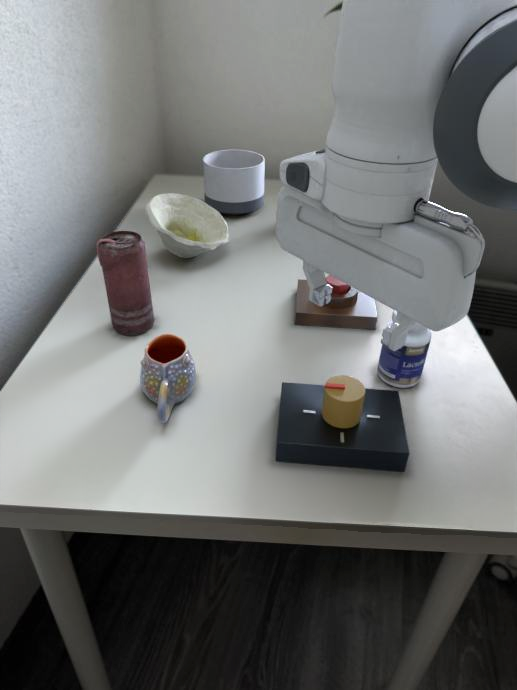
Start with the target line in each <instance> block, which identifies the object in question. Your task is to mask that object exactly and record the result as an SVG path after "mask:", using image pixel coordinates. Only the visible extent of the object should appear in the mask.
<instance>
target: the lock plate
mask: <svg viewBox="0 0 517 690" xmlns="http://www.w3.org/2000/svg"><path fill="white" fill-rule="evenodd" d="M280 389H281V390H280V402H279V410H278V422H277V433H276V441H275V442H276V443H275V462H281V463H292V464H306V465H315V466H316V465H317V466H330V467H342V468H350V469H351V468H352V469H363V470H365V469H366V470H375V471H376V470H378V471H388V472H399V473H404V472H405V471H406V467H407V464H408V461H409V456H410V448H409V444H408V443H409V442H408V437H407V432H406V431H407V430H406V426H405V425H406V424H405V419H404V415H403V409H402V403H401V397H400V391H399V390H395V389H394V390H392V389H381V388H368V387H367V388H366V387H365V397H364V403H363V408H362V414H361V419H360V421H359V423H358V424H357V425H355V426H353V427H350V428H337V427H334V426H332V425H330V424H328V423H327V422H326V421H325V420H324V419H323V416H322V406H323V397H324V389H325V384H314V383H313V384H311V383H300V382H299V383H297V382H286V381H285V382H284V381H282V382H281V387H280Z"/></svg>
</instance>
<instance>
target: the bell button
mask: <svg viewBox="0 0 517 690" xmlns="http://www.w3.org/2000/svg"><path fill="white" fill-rule="evenodd" d="M325 278H326V282H327V285H329V286H331V287H332V294H345V293H347V292H348V290H349V285H347V284H345V283H344V282H342V281H340V280H338V279H336V278H334V277H333V276H331V275H329V274H327V276H325Z"/></svg>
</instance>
